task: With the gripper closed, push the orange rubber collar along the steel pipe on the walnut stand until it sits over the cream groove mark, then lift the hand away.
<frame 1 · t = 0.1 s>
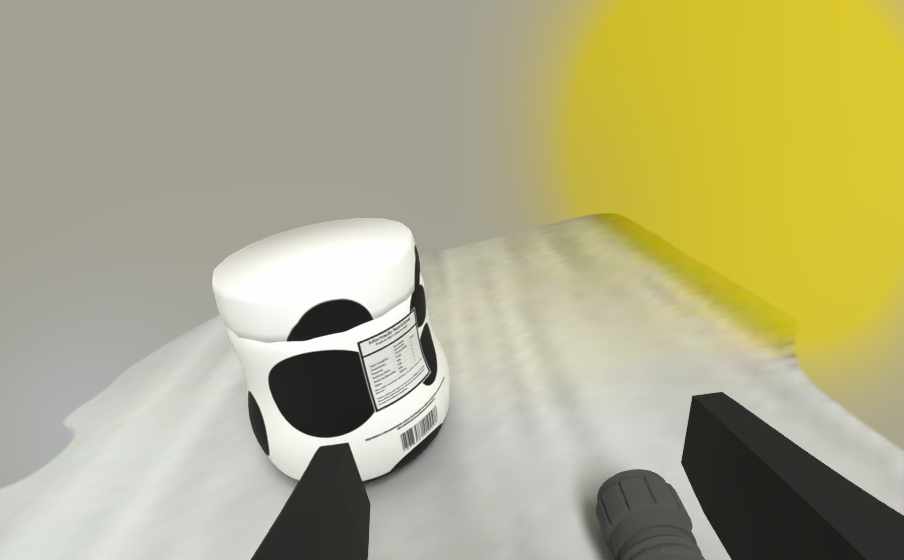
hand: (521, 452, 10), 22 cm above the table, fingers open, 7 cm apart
milk container: (365, 428, 43), on the table
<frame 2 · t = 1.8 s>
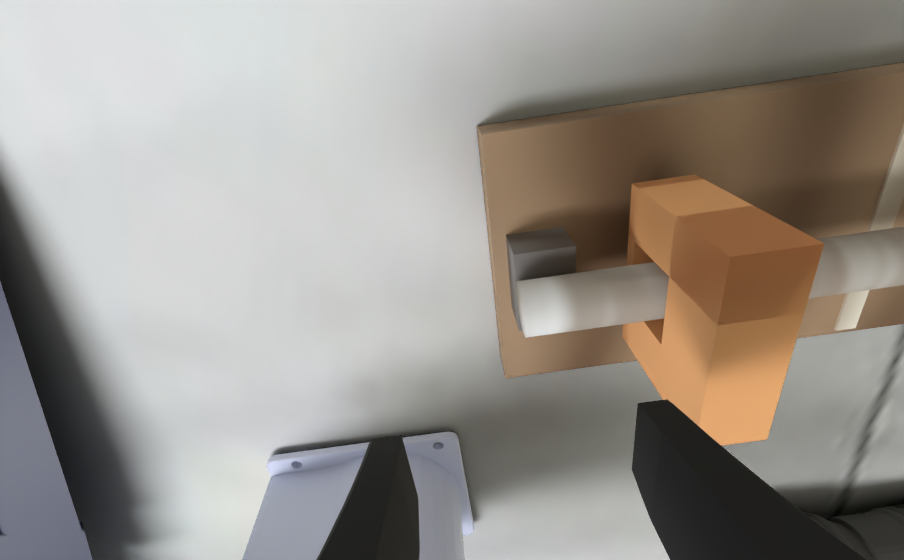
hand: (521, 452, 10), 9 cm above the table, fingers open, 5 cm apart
flashlight: (816, 511, 28), on the table
collar: (694, 303, 13), point 5 cm above the table, slide at -4.5 cm
pipe stand: (744, 220, 18), on the table
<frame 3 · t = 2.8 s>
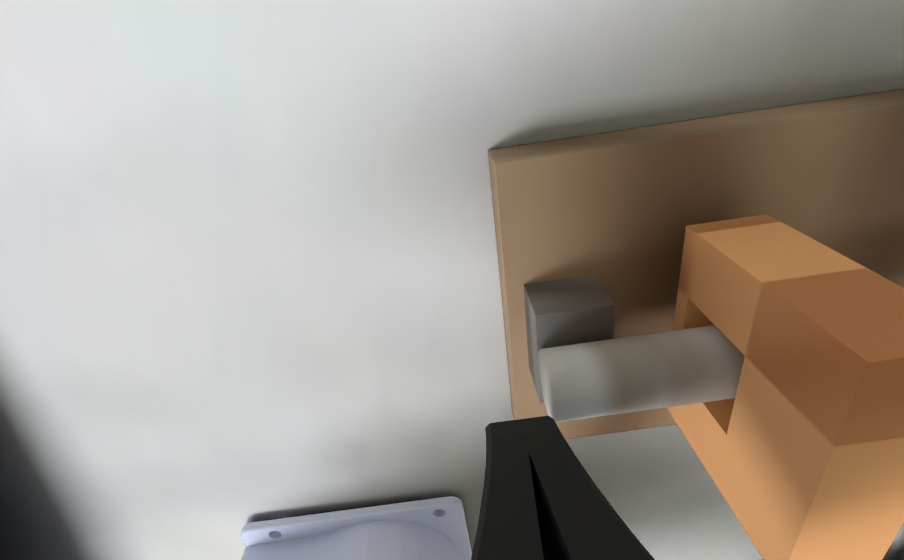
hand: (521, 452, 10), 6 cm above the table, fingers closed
collar: (772, 384, 10), point 5 cm above the table, slide at -4.5 cm
pipe stand: (809, 260, 15), on the table
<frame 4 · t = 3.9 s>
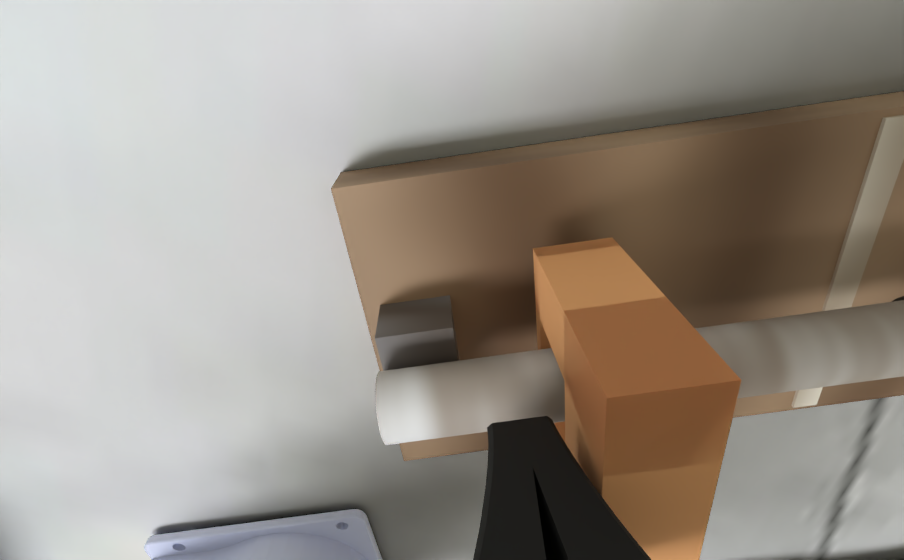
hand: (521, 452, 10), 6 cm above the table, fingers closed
collar: (605, 407, 10), point 5 cm above the table, slide at -4.2 cm, touching gripper
pipe stand: (681, 279, 15), on the table
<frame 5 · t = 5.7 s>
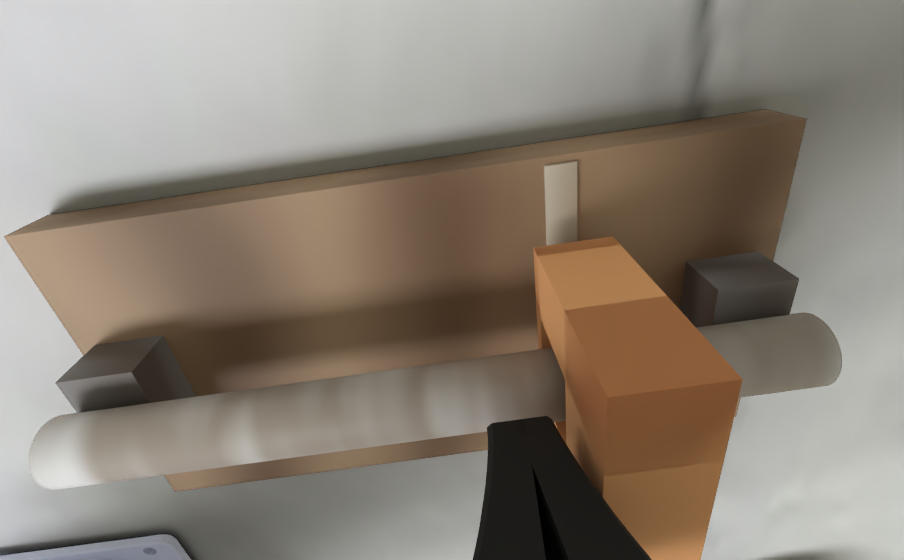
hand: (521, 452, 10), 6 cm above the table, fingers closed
collar: (606, 406, 10), point 5 cm above the table, slide at 4.1 cm, touching gripper
pipe stand: (429, 313, 15), on the table
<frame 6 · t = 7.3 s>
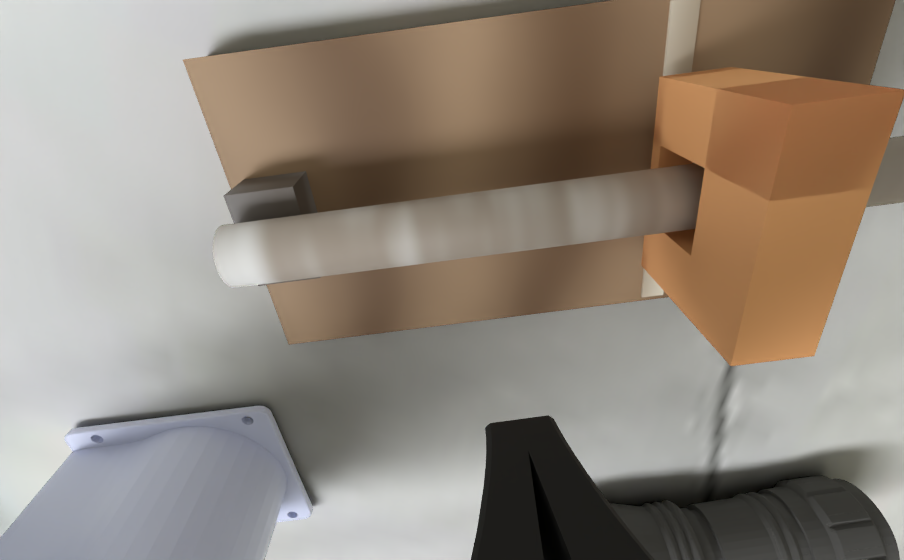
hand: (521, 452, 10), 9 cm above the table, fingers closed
flashlight: (683, 499, 27), on the table
collar: (731, 206, 12), point 5 cm above the table, slide at 4.1 cm
pipe stand: (534, 173, 16), on the table
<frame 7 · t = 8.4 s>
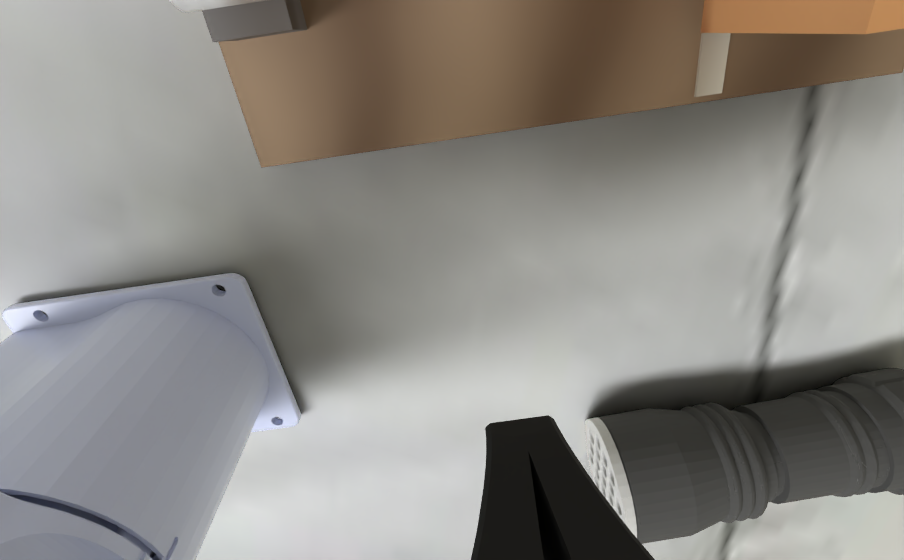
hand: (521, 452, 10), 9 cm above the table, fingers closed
flashlight: (725, 407, 23), on the table
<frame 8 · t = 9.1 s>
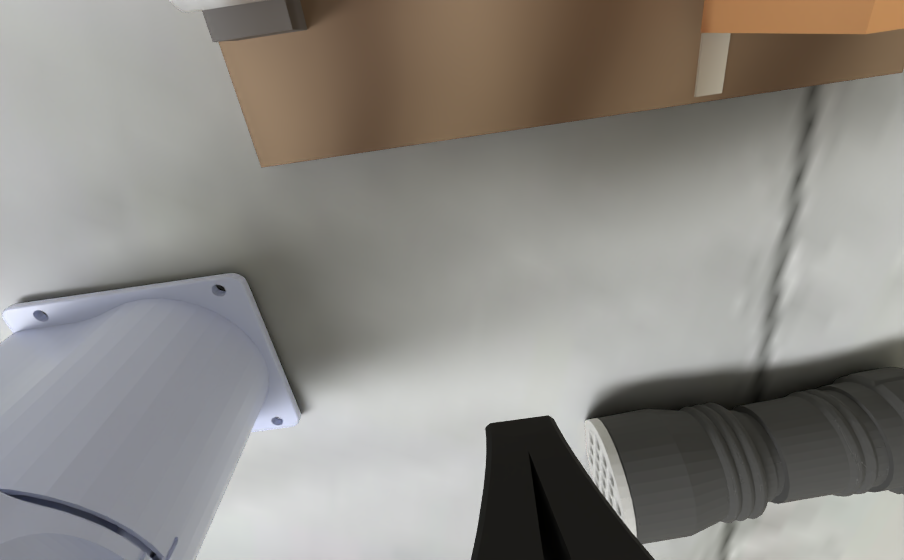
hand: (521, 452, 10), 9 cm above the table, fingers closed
flashlight: (724, 407, 23), on the table
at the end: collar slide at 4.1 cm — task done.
